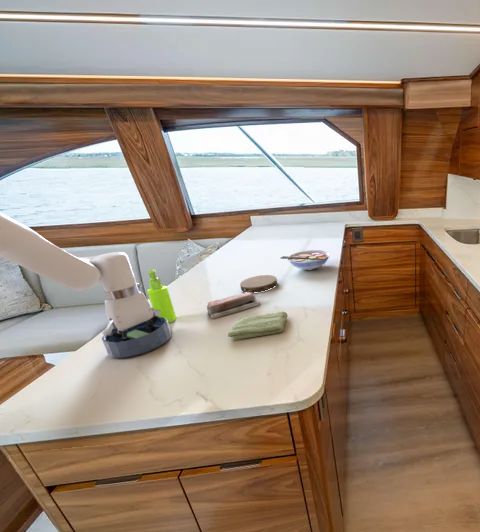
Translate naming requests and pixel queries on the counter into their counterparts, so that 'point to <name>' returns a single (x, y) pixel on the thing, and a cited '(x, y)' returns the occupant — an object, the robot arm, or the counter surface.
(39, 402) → the counter surface
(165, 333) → the bowl
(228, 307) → the packaged product
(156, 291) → the soap dispenser
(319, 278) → the counter surface
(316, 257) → the ramen bowl
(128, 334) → the green bar
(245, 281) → the brown round disc
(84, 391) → the counter surface
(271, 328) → the washcloth
